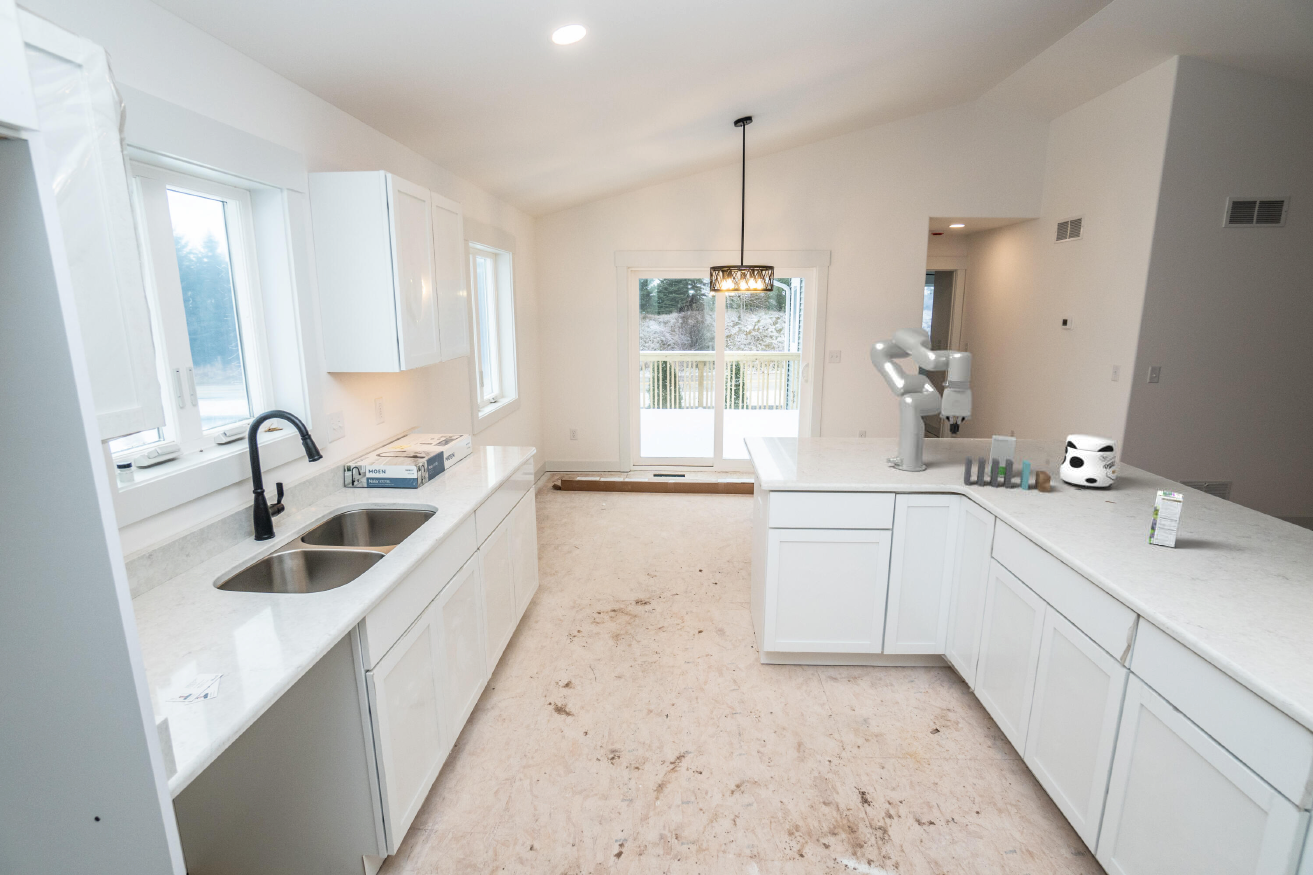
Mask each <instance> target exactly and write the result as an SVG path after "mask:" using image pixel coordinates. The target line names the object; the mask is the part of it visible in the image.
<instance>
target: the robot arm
mask: <svg viewBox="0 0 1313 875" xmlns="http://www.w3.org/2000/svg"><path fill="white" fill-rule="evenodd" d="M869 354H870V360H871V363H872V365H873V367H874V368H875V369H876V371H877V372H878V373H879V374H880V375H881V377H882V378H883V379H884V381H885V383H886V385H888V388H890V390H891V392H892V393H893V394H894V396H896V397H898V398H900V399H899V402H898V410H899V417H900V418H899V436H898V439H899V440H898V450H897V451H898V453H897V455H895V457H893V458H892V457H891V458H890V457H887V458H886V459H885V463H886V464H890V463H891V464H893V468H895V469H897V470H900V471H906V472H907V471H908V472H922V471H925V470H926V468H927V466H926V465H925V464H923V456H924V454H923V453H924V443H925V430H926V429H925V422H924V421H923V418H922V416H934V415H938V414H939V418H942V419H944V420H947V421H948V423H949V432H950V434H951V435H958V433H959V432H960V424H962V423H963V421H967V420H971V419H972V412H973V411H972V409H973V392H972V389H970V382H971V372H972V370H971V369H972V361H973V360H972V359H973V356H972V355H973V354H971V353H970V352H969V351H968V352H966V351H957V350H954V349H953V350H951V349H949V350H932V342H931V340H930V334H929V332H928V331H927V330H926V329H925V328H923V327H904V328H903V327H902V328H899V329H898V330H896V331H895V332H894V333H893V335H892V339H890V338H889V339H887V338H886V339H880V340H877V341H875V342H874V343H873V344H872V345H871V346H870V353H869ZM910 357H912V360H913V363H914V364H916V365H917V366H918V367H921V368H922V369H924V370H927V371H932V372H935V371H936V372H937V371H948V372H947V380H946V381H943V382H942V386H945V387H946V388H944V390H943V394H942V396H941V394H940V393H939V391H938V390H937V389H936V387H935V386H934V384H933V383H932V382H931V381H930V379H929V378H928V377H927V376H925V375H924V374H916V373H915V374H909V373H907V372H906V371H905V370H904V369H903V367H902V366H901V365H900V364H899V363H898V362H896V361H895V359H896V360H897V359H898V360H899V359H907V358H910ZM954 417H956V420H955V421H954Z"/></svg>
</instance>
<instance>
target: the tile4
mask: <svg viewBox="0 0 1313 875" xmlns="http://www.w3.org/2000/svg"><path fill="white" fill-rule="evenodd" d="M1013 468H1014V460H1013V461H1012V460H1011V459H1006V464H1005V473H1004V477H1003V484H1002V485H1003V486H1004V488H1005V489H1011V488H1012V479H1013V478H1012V477H1013Z"/></svg>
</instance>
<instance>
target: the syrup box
mask: <svg viewBox="0 0 1313 875" xmlns="http://www.w3.org/2000/svg"><path fill="white" fill-rule="evenodd" d="M1156 493H1157V495H1156V499H1155V502H1154V503H1155V504H1154V508H1153V512H1152V516H1151V517H1152V518H1151V524H1150V530H1149V537H1148V542H1149V543H1154V544H1159V545H1166V546H1172V547H1174V548H1175V546H1176V541H1177V536H1178V531H1179V526H1180V521H1181V514H1182V509H1183V503H1184V494H1181V493H1178V492H1174V491H1172V492H1171V491H1167V490H1158V491H1157V492H1156ZM1149 543H1148V544H1149Z"/></svg>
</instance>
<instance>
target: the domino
mask: <svg viewBox="0 0 1313 875" xmlns="http://www.w3.org/2000/svg"><path fill="white" fill-rule="evenodd" d="M1031 466H1032V464H1031V462H1030V461H1029V460H1028V459H1026V460H1024V459H1023V460H1022V465H1021V472H1020V483H1019V486H1020V488H1021V490H1023V491H1025V490H1026V491H1028V490H1029V481H1030V473H1031Z"/></svg>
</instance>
